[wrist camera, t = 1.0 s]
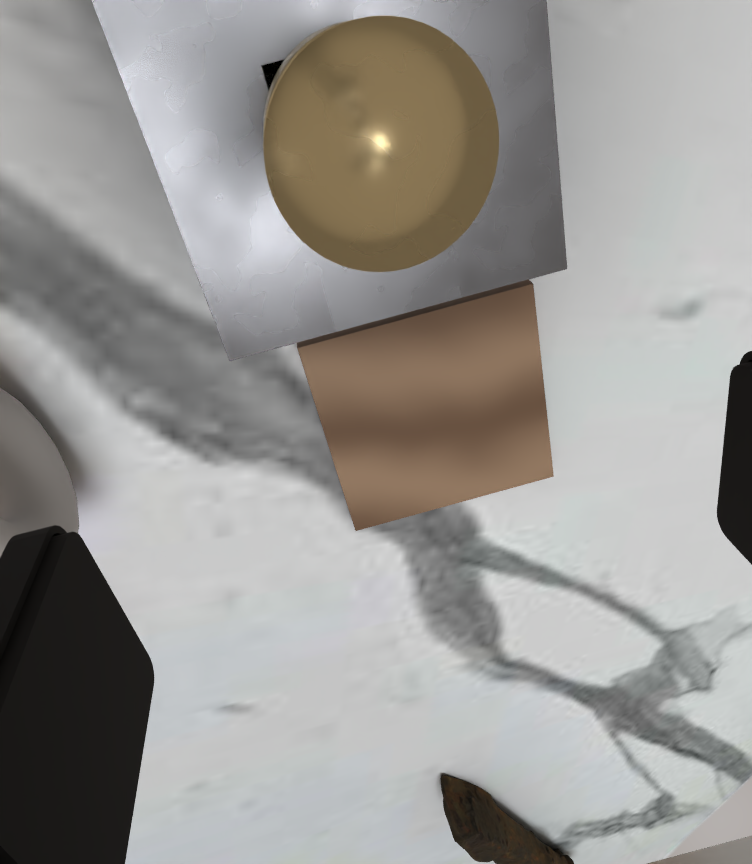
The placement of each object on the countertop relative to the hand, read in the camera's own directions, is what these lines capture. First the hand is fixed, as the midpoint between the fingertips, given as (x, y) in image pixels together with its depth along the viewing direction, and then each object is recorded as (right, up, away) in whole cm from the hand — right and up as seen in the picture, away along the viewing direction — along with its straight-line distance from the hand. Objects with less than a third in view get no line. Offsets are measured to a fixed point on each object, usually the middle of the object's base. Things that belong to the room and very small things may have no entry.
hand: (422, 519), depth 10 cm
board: (+2, +2, +24) cm, 24 cm away
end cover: (-2, +14, +17) cm, 22 cm away
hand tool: (+9, -30, +45) cm, 55 cm away
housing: (-2, +14, +17) cm, 22 cm away
